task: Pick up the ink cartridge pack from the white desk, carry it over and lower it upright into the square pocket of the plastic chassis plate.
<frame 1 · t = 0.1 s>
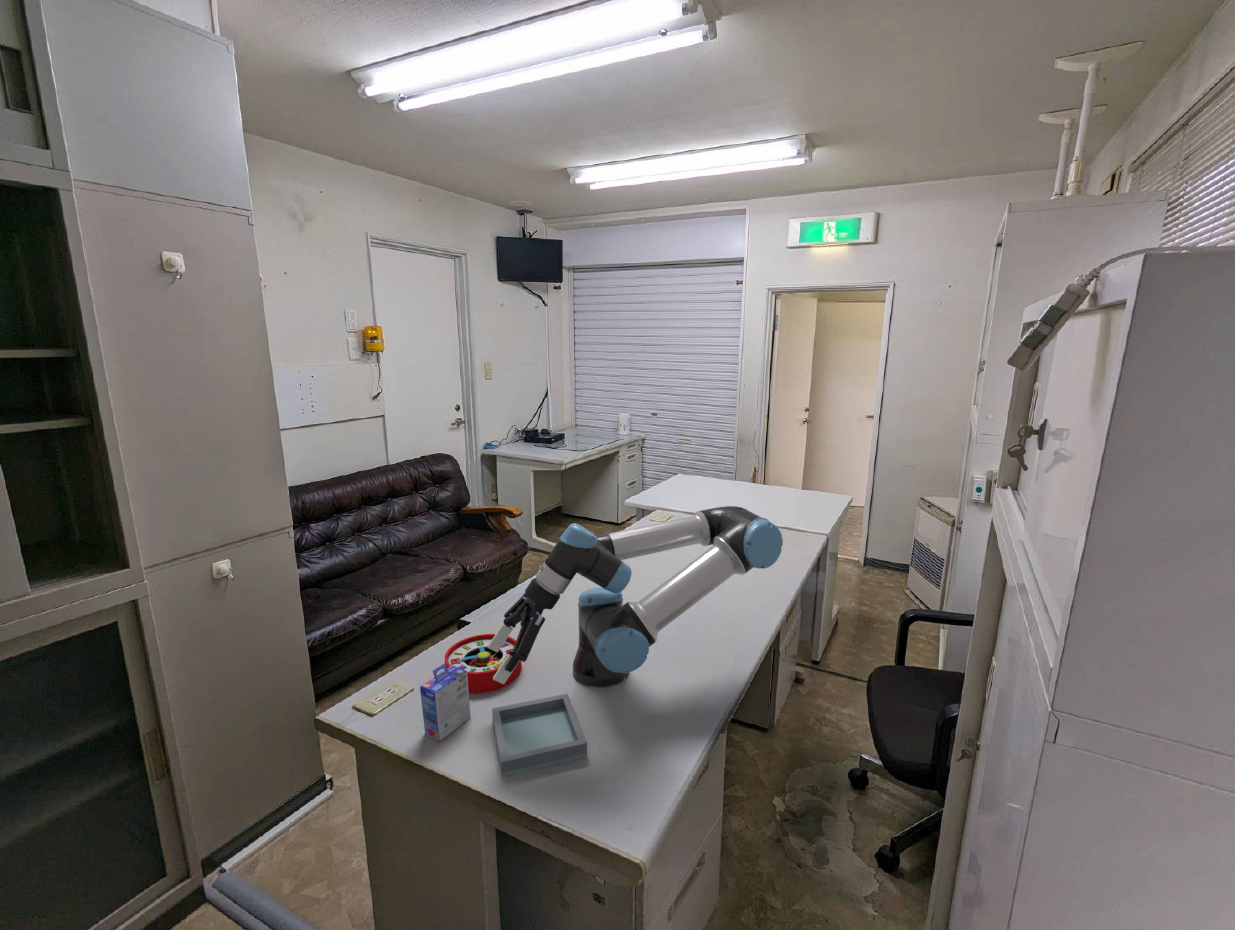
hand: (495, 664, 124), 15 cm above the table, tool tilted 35°, fingers open, 13 cm apart
ink cartridge box: (447, 726, 126), on the table
toy clock: (484, 672, 148), on the table
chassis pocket: (537, 738, 122), on the table
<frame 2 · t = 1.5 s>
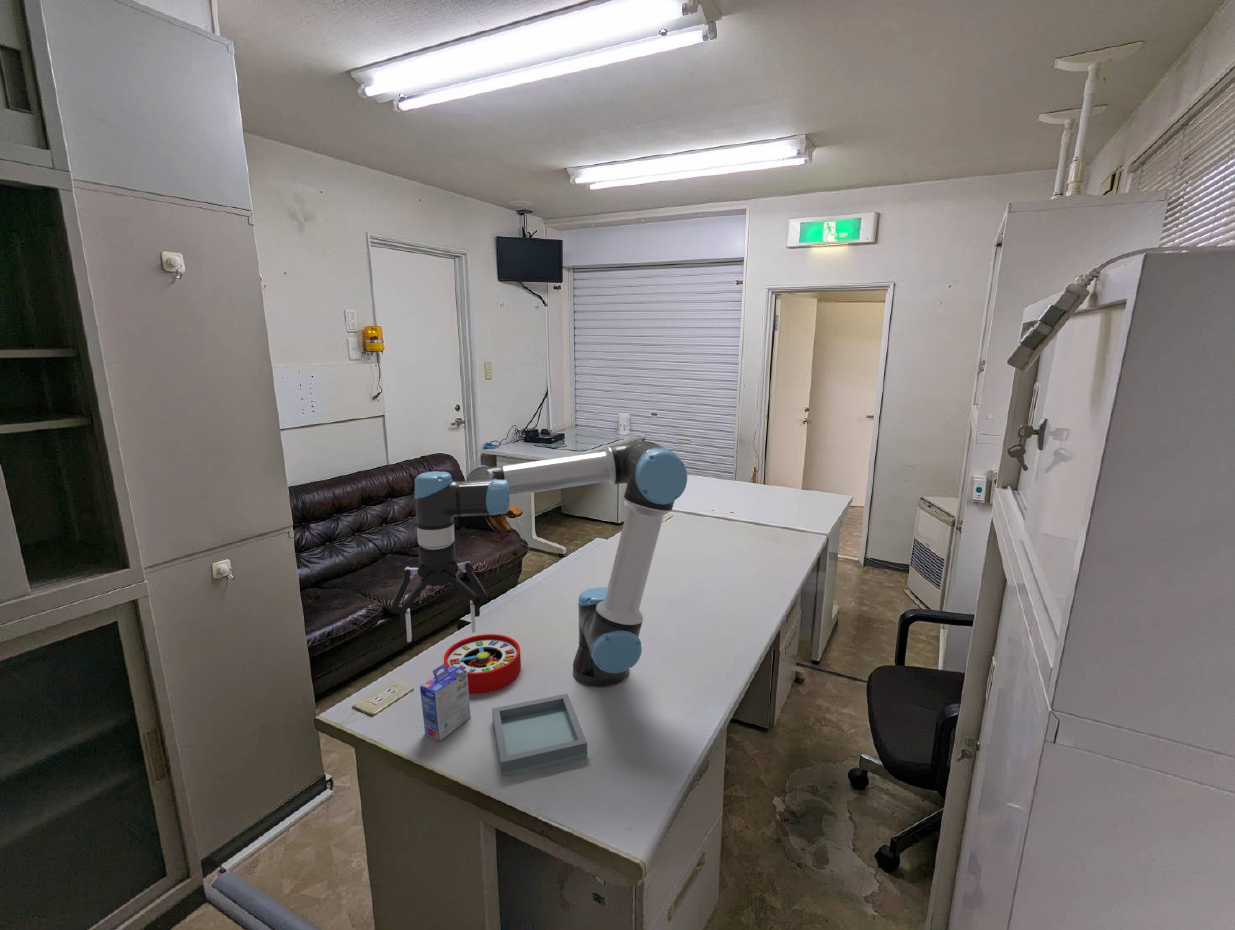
hand: (442, 634, 122), 23 cm above the table, tool pointing down, fingers open, 13 cm apart
nothing on the table moved.
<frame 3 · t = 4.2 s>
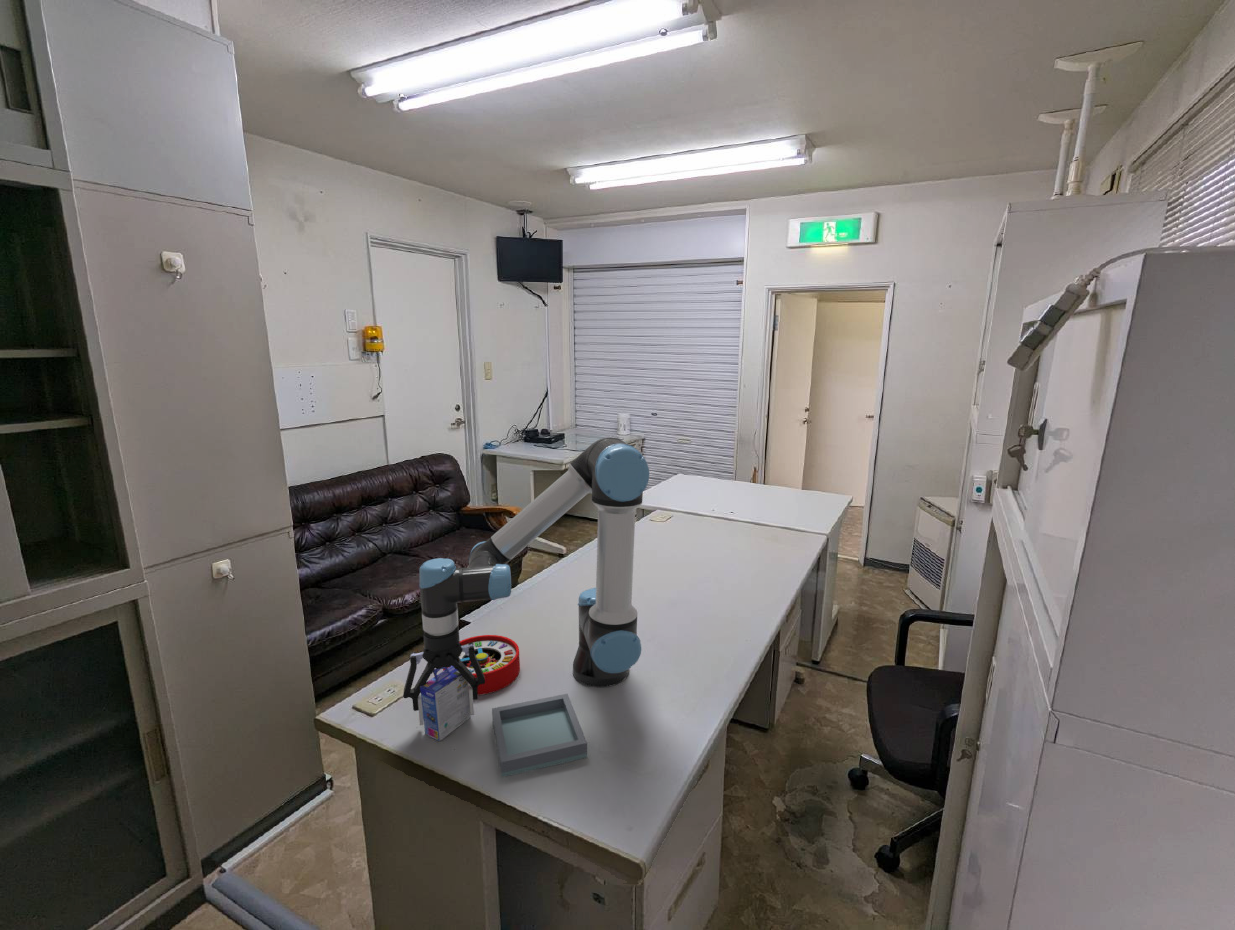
hand: (447, 716, 126), 2 cm above the table, tool pointing down, fingers closed on ink cartridge box, 10 cm apart
ink cartridge box: (447, 726, 126), on the table, touching gripper
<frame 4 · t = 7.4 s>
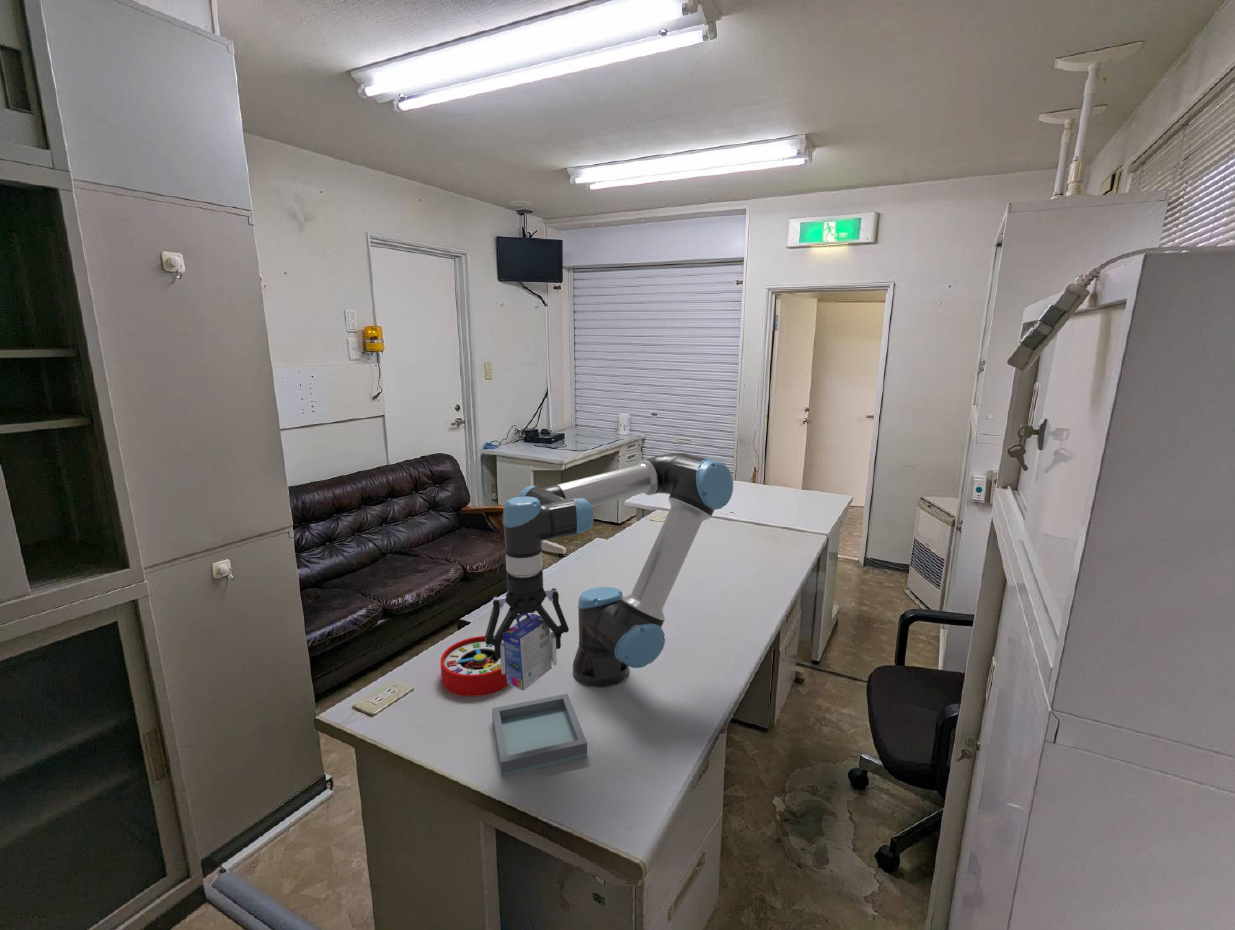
hand: (528, 666, 119), 18 cm above the table, tool pointing down, fingers closed on ink cartridge box, 10 cm apart
ink cartridge box: (529, 676, 119), point 15 cm above the table, touching gripper
when the fingers open (4 cm above the table, at t = 10.6 s): ink cartridge box stays where it is, resting on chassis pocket.
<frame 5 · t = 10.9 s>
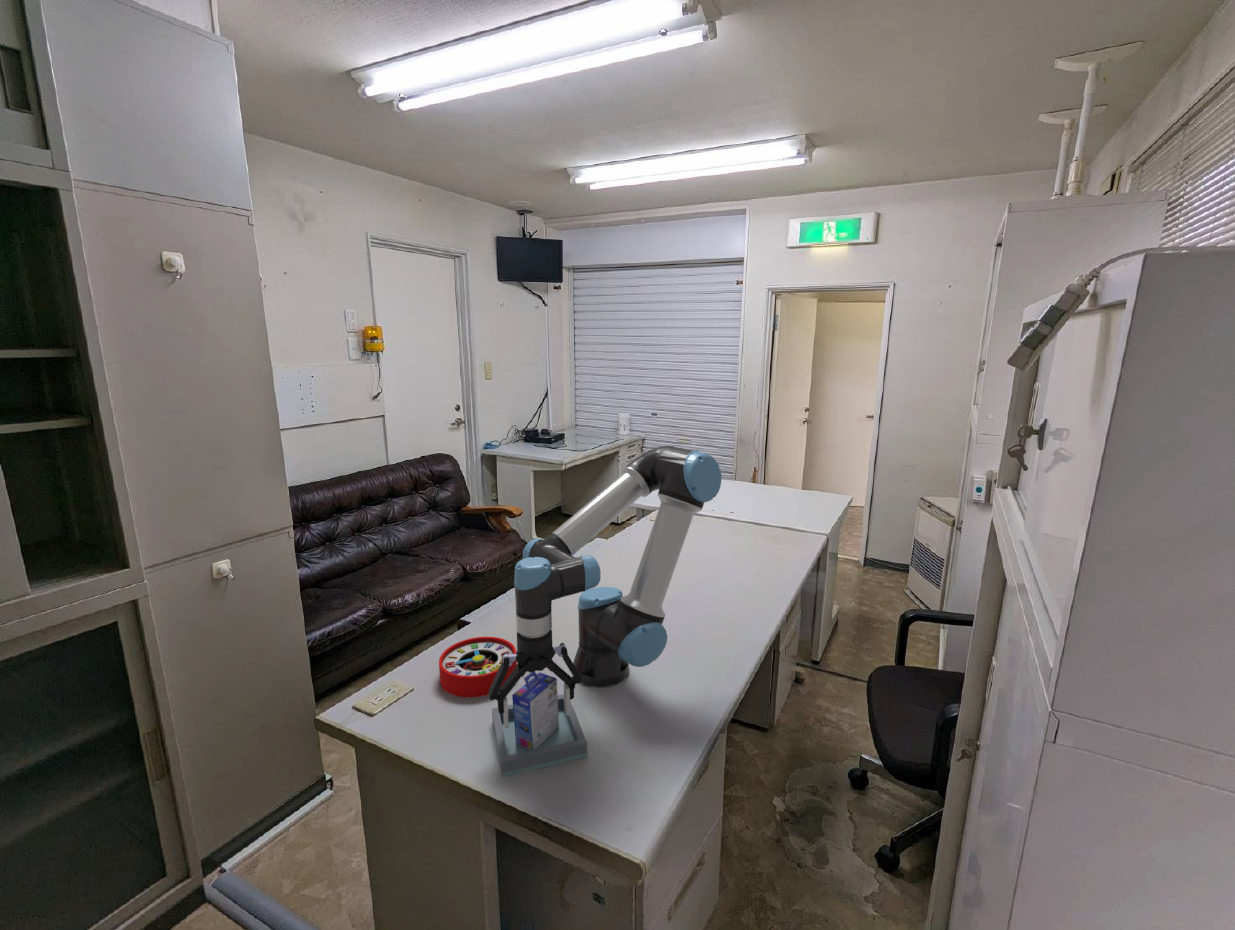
hand: (537, 718, 121), 5 cm above the table, tool pointing down, fingers open, 13 cm apart
ink cartridge box: (537, 735, 122), point 1 cm above the table, touching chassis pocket
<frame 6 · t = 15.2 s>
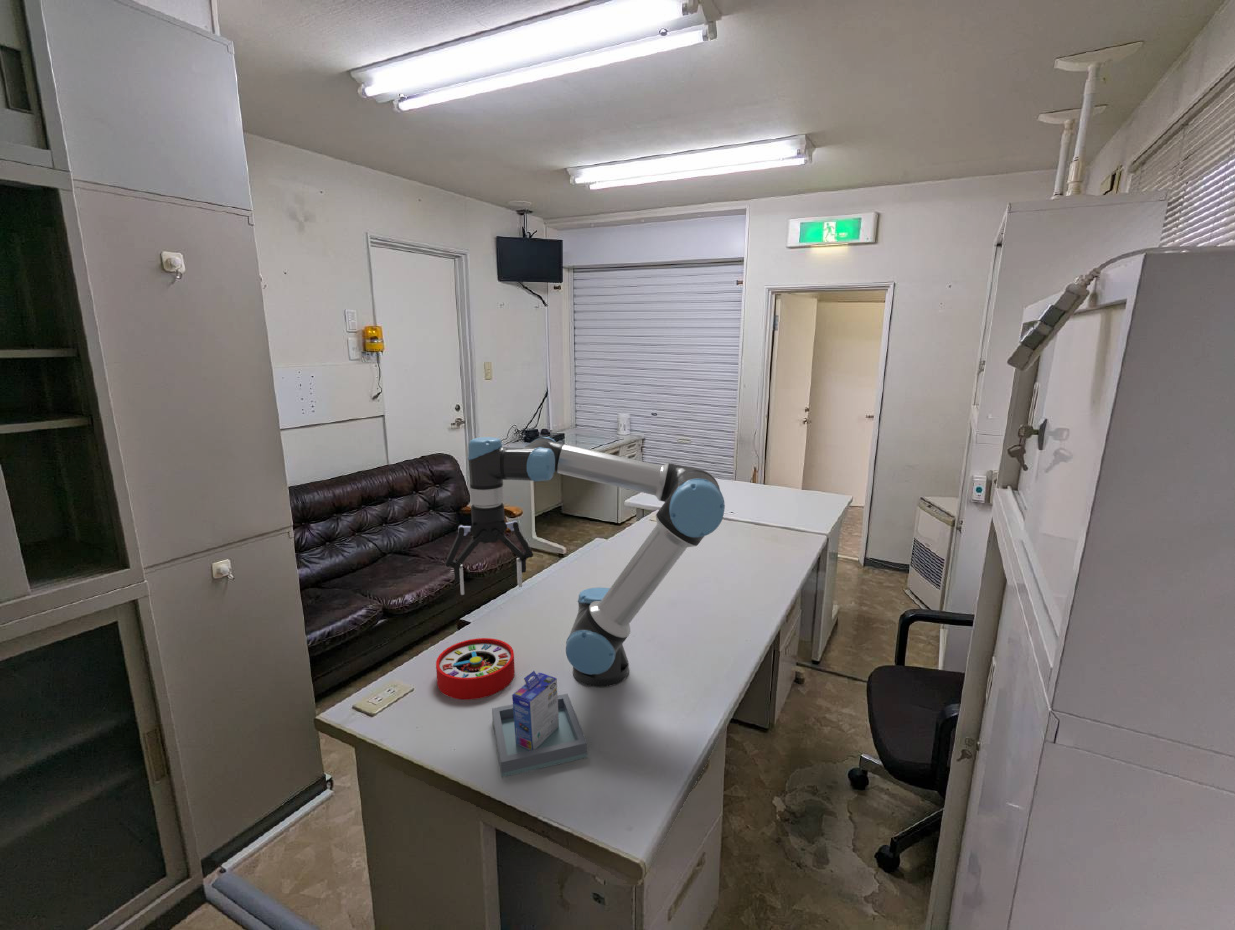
hand: (491, 588, 132), 29 cm above the table, tool pointing down, fingers open, 13 cm apart
at the end: ink cartridge box 0.1 cm off-centre on the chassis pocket, point 0.8 cm above the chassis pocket's base; ink cartridge box tilted 0°; the gripper is holding nothing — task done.
